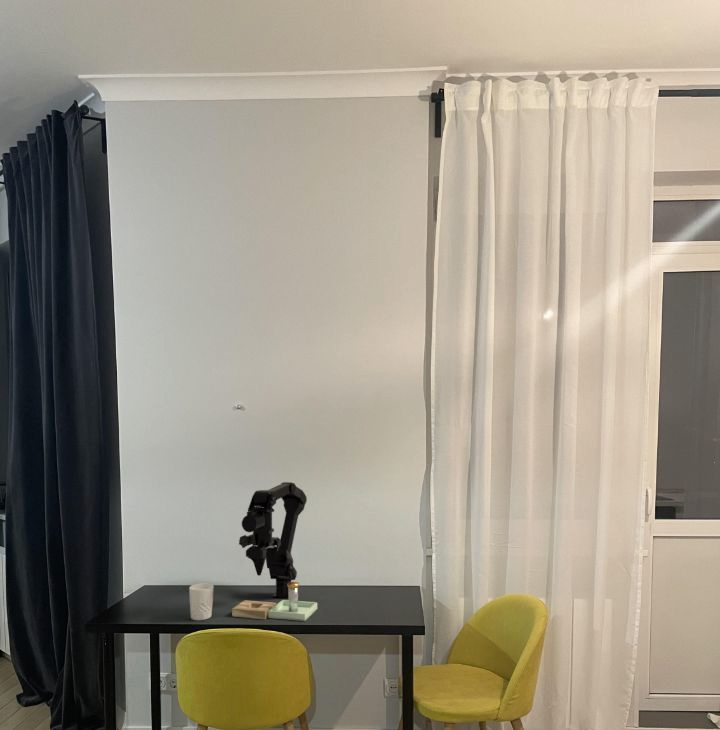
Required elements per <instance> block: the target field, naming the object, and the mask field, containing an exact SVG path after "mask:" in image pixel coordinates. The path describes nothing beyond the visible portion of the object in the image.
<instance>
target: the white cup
mask: <svg viewBox="0 0 720 730" xmlns="http://www.w3.org/2000/svg"><path fill="white" fill-rule="evenodd" d="M188 588H189V590H188V591H189V592H188V593H189V610H190V619H191V620H193V621H204V620H208V619H210V618H211V617H212V614H213V612H212V611H213V603H214V584H212V583H209V582H208V583H207V582H203V583H202V582H201V583H195V584H193V585H190V586H189V587H188Z"/></svg>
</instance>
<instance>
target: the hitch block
mask: <svg viewBox="0 0 720 730" xmlns="http://www.w3.org/2000/svg"><path fill="white" fill-rule="evenodd" d="M275 605H277V602H272V601H271V602H270V601H257V600H246V599H245V600H243V601H242V602H240V603H238V604H237V605H236V606H234V607H233V608H232V612H231V613H232V615H231V616H232V617H237V618H246V619H247V618H248V619H259V620H266V619H268V611H269V610H270V609H272V608H273V607H274V606H275Z"/></svg>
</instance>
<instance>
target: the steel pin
mask: <svg viewBox="0 0 720 730" xmlns="http://www.w3.org/2000/svg"><path fill="white" fill-rule="evenodd" d="M287 587H289V598H288V600H289V612H293V613H297V612H298V601H299V587H300V582H298V581H291V582H289V583H287Z"/></svg>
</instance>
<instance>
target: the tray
mask: <svg viewBox="0 0 720 730" xmlns="http://www.w3.org/2000/svg"><path fill="white" fill-rule="evenodd" d="M316 611H318V602H315V601H301V600H298V612H297V613H293V612H289V599H282V600H280V601H279V602H278V603H276V605H275V606H274V607H273V608H272V609H270V610H269V611H268V617H267V619H268V618H269V619H276V620H278V619H279V620H289V621H298V622H299V621H300V622H301V621H302V622H306V620H308V619H309V618H310V617H311V616H312V615H313V614H314V613H315V612H316Z"/></svg>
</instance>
